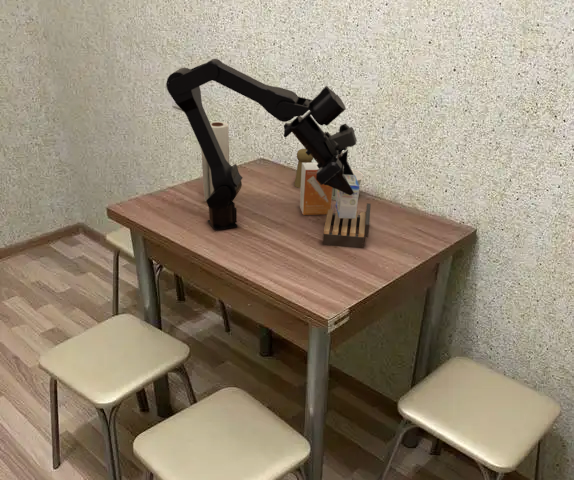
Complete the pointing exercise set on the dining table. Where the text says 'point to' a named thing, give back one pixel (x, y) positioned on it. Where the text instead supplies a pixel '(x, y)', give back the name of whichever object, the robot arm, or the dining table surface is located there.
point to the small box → (313, 192)
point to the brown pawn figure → (301, 158)
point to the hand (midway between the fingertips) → (353, 187)
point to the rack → (344, 238)
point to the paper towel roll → (223, 140)
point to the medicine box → (348, 199)
